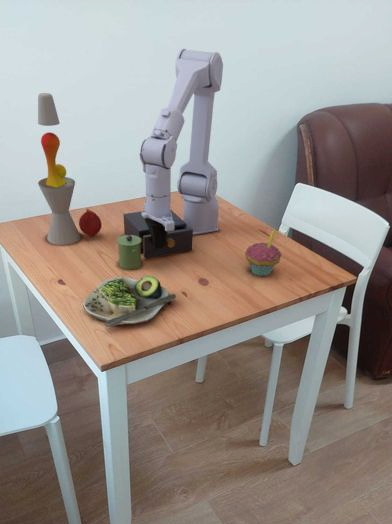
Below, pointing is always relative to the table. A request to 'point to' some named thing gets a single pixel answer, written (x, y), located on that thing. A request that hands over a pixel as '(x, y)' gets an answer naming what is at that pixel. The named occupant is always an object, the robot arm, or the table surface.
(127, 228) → the cabinet
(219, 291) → the table surface
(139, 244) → the pot
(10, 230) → the table surface
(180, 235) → the drawer
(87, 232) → the onion
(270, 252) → the cupcake
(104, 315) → the avocado toast plate
